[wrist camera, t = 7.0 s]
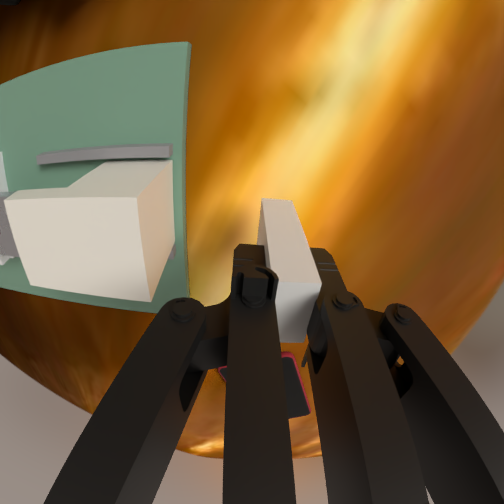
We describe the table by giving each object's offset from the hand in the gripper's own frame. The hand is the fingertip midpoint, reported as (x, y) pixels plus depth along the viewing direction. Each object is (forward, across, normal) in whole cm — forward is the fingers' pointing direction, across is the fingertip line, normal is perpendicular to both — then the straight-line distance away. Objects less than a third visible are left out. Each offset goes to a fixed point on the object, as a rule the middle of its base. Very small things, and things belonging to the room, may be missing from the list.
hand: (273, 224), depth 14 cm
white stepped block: (+2, -9, 0) cm, 9 cm away
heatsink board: (+3, -19, 0) cm, 19 cm away
